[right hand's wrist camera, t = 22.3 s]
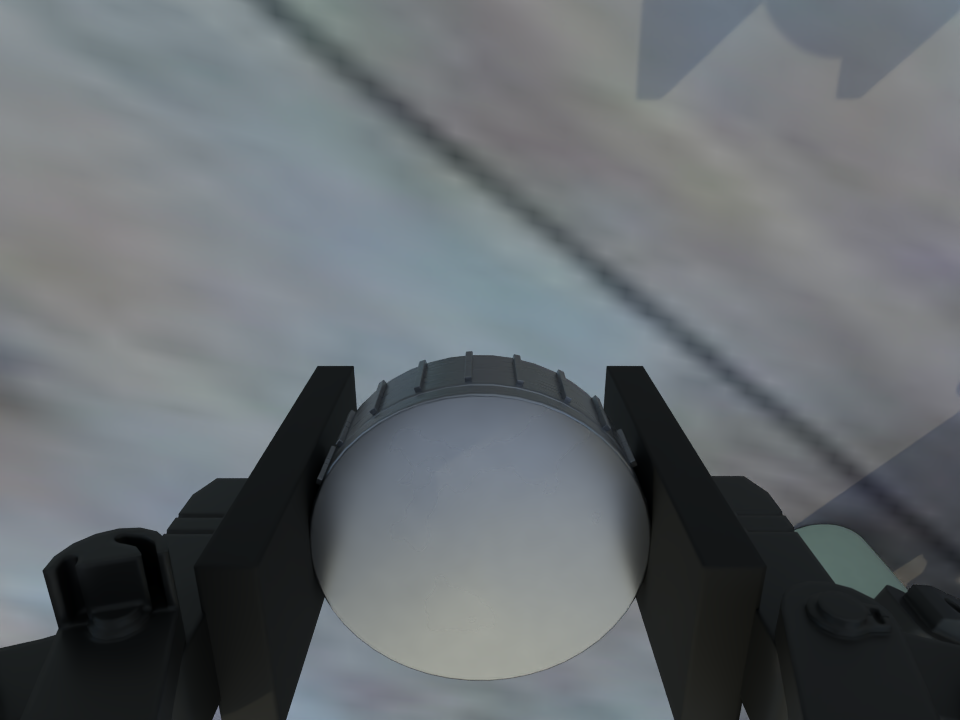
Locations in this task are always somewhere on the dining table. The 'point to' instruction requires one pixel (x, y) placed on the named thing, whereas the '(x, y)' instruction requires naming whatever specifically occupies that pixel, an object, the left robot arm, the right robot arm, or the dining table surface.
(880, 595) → the left robot arm
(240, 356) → the dining table surface
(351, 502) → the lid
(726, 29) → the dining table surface
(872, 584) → the bottle
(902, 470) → the dining table surface
